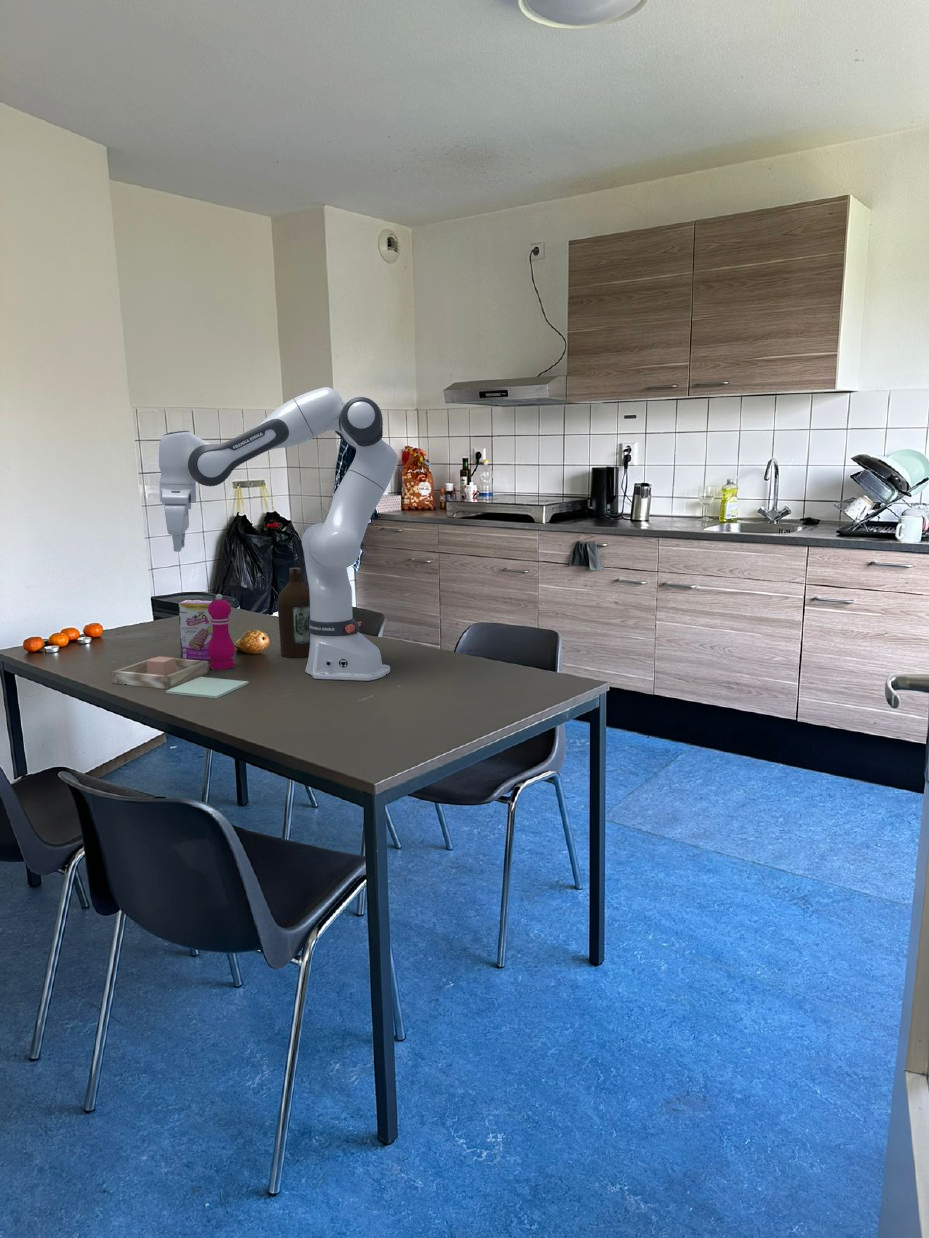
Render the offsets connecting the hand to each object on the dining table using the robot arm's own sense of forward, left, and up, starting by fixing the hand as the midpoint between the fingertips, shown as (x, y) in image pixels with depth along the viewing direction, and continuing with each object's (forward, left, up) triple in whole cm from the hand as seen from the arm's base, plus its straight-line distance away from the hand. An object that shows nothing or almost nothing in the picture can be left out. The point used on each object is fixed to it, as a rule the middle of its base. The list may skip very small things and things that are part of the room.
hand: (179, 549), depth 224 cm
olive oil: (-19, -27, -33) cm, 46 cm away
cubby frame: (+1, +8, -32) cm, 33 cm away
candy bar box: (+3, -13, -33) cm, 35 cm away
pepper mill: (-7, -7, -33) cm, 34 cm away
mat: (-16, +13, -32) cm, 38 cm away
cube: (+1, +8, -33) cm, 33 cm away
